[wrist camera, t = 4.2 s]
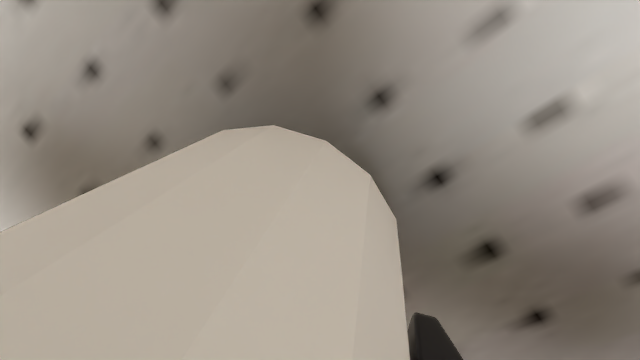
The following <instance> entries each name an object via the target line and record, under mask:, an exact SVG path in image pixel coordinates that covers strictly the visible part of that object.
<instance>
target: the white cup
mask: <svg viewBox="0 0 640 360" xmlns="http://www.w3.org/2000/svg"><path fill="white" fill-rule="evenodd" d="M0 360H410V353H409V342H408V332H407V321H406V311H405V300H404V290H403V279H402V269H401V259H400V249H399V240H398V230H397V220H396V218H395V216H394V215H393V213H392V211H391V210H390V208H389V206H388V204H387V203H386V201H385V199H384V198H383V196H382V194H381V192H380V191H379V189H378V187H377V186H376V184H375V182H374V180H373V179H372V177H371V175H370V174H369V173H367V172H366V171H365V170H363V169H362V168H361V167H360V166H358V165H357V164H356V163H354V162H353V161H352V160H350V159H349V158H348V157H347V156H345V155H344V154H343V153H341V152H340V151H339V150H338V149H336V148H335V147H334V146H332V145H331V144H330V143H329V142H327V141H325V140H322V139H319V138H315V137H312V136H309V135H305V134H302V133H298V132H295V131H292V130H288V129H285V128H282V127H278V126H275V125H269V126H259V127H249V128H239V129H229V130H222V131H220V132H217V133H215V134H213V135H211V136H209V137H206V138H204V139H202V140H200V141H198V142H196V143H193V144H191V145H189V146H187V147H185V148H182V149H180V150H178V151H176V152H174V153H172V154H169V155H167V156H165V157H163V158H161V159H159V160H156V161H154V162H152V163H150V164H148V165H145V166H143V167H141V168H139V169H137V170H135V171H132V172H130V173H128V174H126V175H124V176H121V177H119V178H117V179H115V180H113V181H111V182H108V183H106V184H104V185H102V186H100V187H97V188H95V189H93V190H91V191H89V192H87V193H84V194H82V195H80V196H78V197H76V198H73V199H71V200H69V201H67V202H65V203H63V204H60V205H58V206H56V207H54V208H52V209H50V210H47V211H45V212H43V213H41V214H39V215H36V216H34V217H32V218H30V219H28V220H26V221H23V222H21V223H19V224H17V225H15V226H12V227H10V228H8V229H6V230H4V231H2V232H0Z"/></svg>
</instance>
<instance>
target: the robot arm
mask: <svg viewBox="0 0 640 360" xmlns="http://www.w3.org/2000/svg"><path fill="white" fill-rule="evenodd" d="M407 332H408V342H409V353H410V360H463V358H462V357H461V355H460V354H459V352H458V351H457V349H456V347H455V346H454V344H453V343H452V341H451V340H450V338H449V337H448V335H447V334H446V332H445V330H444V329H443V327H442V326H441V324H440V323H439V321H438V320H437V319H436V318H435V317H432V316H428V315H424V314H420V313H414V314H413V316H412V318H411V321H410V324H409V327H408V331H407Z"/></svg>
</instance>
